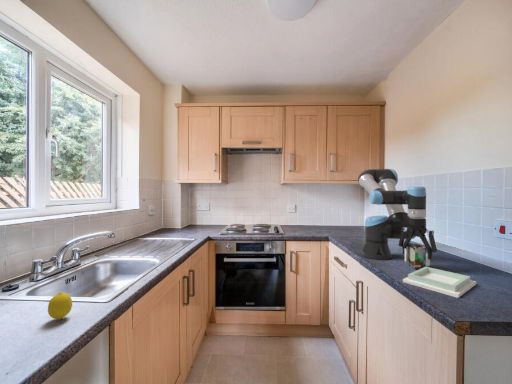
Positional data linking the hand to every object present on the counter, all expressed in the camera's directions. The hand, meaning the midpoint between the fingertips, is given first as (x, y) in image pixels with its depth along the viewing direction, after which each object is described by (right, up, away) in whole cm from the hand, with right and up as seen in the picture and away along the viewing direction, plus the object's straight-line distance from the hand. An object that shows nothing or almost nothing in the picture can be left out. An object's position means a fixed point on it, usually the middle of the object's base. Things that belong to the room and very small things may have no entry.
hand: (416, 263), depth 116 cm
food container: (0, -2, 0) cm, 2 cm away
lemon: (-138, -3, -47) cm, 145 cm away
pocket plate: (-5, -2, -21) cm, 22 cm away
